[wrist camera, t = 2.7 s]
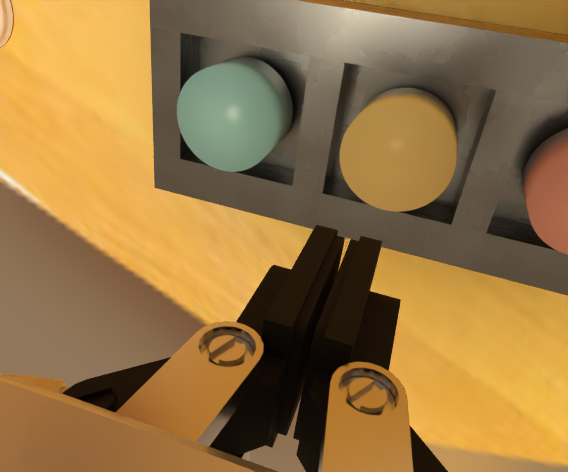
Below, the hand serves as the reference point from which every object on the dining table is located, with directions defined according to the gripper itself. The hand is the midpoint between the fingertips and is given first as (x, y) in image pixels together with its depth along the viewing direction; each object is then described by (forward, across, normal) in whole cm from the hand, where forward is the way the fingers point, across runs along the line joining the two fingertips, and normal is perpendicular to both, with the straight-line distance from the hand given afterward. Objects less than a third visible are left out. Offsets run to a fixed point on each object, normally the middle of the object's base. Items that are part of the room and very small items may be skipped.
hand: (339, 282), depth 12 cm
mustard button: (+11, 0, 0) cm, 12 cm away
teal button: (+12, +7, 0) cm, 14 cm away
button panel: (+13, 0, 0) cm, 14 cm away
